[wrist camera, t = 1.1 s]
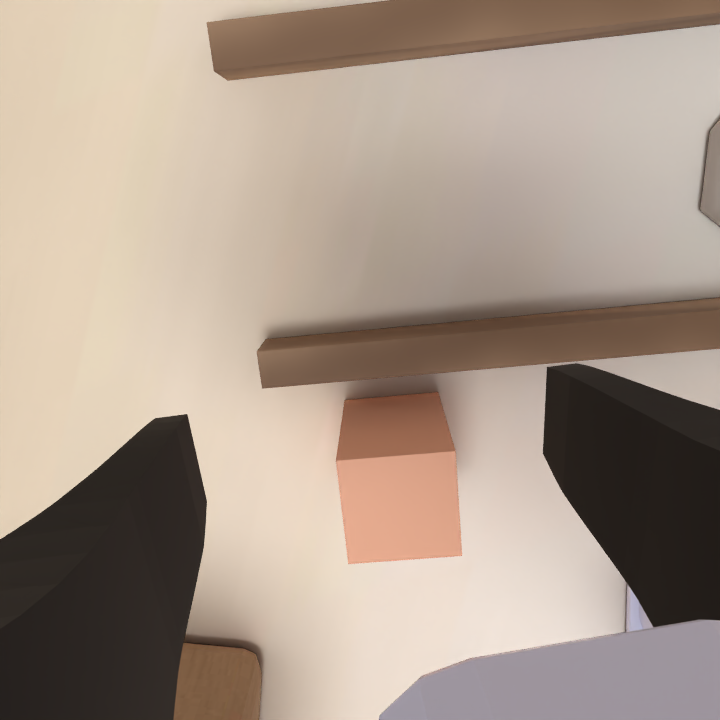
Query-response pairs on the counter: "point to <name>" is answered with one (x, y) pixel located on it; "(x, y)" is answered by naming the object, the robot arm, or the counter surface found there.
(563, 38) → the strip
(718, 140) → the flask
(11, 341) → the counter surface
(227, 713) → the wooden block
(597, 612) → the counter surface
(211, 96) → the counter surface
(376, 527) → the block
